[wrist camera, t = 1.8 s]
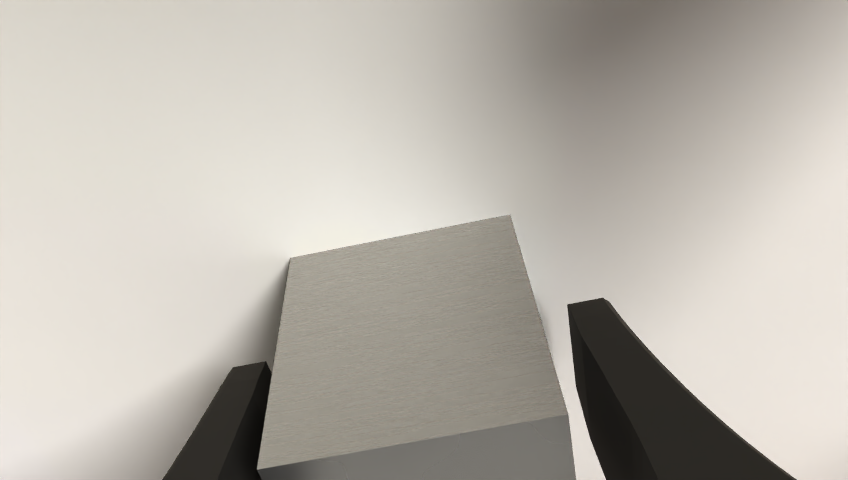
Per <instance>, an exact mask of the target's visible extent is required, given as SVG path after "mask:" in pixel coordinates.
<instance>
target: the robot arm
mask: <svg viewBox="0 0 848 480" xmlns="http://www.w3.org/2000/svg"><path fill="white" fill-rule="evenodd" d="M567 306H568V316H569V325H570V335H571V344H572V353H573V363H574V372H575V382H576V388H577V392H578V395H579V399H580V403H581V407H582V410H583V414H584V418H585V421H586V425H587V428H588V432H589V435H590V439H591V442H592V444H593V447H594V450H595V452H596V455H597V457H598V460H599V462H600V465H601V467H602V470H603V473H604V475H605V478H606V480H796V479H795V478H794V477H792V476H791V475H789V474H788V473H787V472H785V471H784V470H783V469H781V468H780V467H778V466H777V465H776V464H774V463H773V462H772V461H771V460H769V459H768V458H767V457H765V456H764V455H763V454H762V453H760V452H759V451H758V450H756V449H755V448H754V447H753V446H751V445H750V444H749V443H748V442H746V441H745V440H744V439H743V438H742V437H740V436H739V435H738V434H737V433H736V432H734V431H733V430H732V429H731V428H730V427H729V426H727V425H726V424H725V423H724V422H723V421H722V420H720V419H719V418H718V417H717V416H716V415H715V414H714V413H713V412H712V411H710V410H709V409H708V408H707V407H706V406H705V405H704V404H703V403H702V402H700V401H699V400H698V399H697V398H696V397H695V396H694V395H693V394H692V393H691V392H690V391H689V390H688V389H687V388H686V387H685V386H684V385H683V384H682V383H681V382H680V381H679V380H678V379H677V378H676V377H675V376H674V375H673V374H672V373H671V372H670V371H669V370H668V369H667V368H666V367H665V366H664V365H663V364H662V363H661V362H660V361H659V360H658V359H657V358H656V357H655V356H654V355H653V354H652V353H651V351H650V350H649V349H648V348H647V347H646V346H645V345H644V344H643V343H642V341H641V340H640V339H639V338H638V337H637V336H636V335H635V333H634V332H633V331H632V330H631V329H630V328H629V326H628V325H627V324H626V323H625V322H624V320H623V319H622V318H621V317H620V315H619V314H618V313H617V312H616V310H615V309H614V308H613V306H612V305H611V303H610V302H609V301H607V300H605V299H604V298H599V299H594V300H589V301H583V302H578V303H573V304H568V305H567ZM271 377H272V373H271V371H270V369H269V367H268V365H267V362H266V361H265V362H260V363H254V364H249V365H244V366H238V367H233V368H232V370H231V371H230V373H229V374H228V376H227V377H226V379H225V380H224V382H223V384H222V385H221V387H220V389H219V390H218V392H217V394H216V395H215V397H214V399H213V400H212V402H211V404H210V405H209V407H208V408H207V410H206V412H205V413H204V415H203V417H202V418H201V420H200V422H199V423H198V425H197V427H196V428H195V430H194V431H193V433H192V435H191V436H190V438H189V439H188V441H187V443H186V444H185V446H184V447H183V449H182V450H181V452H180V453H179V455H178V457H177V458H176V460H175V461H174V463H173V464H172V466H171V467H170V469H169V471H168V472H167V474H166V475H165V477H164V478H163V480H262V479H261V477H260V475H259V473H258V471H257V465H258V459H259V453H260V446H261V440H262V434H263V428H264V421H265V415H266V409H267V403H268V396H269V390H270V384H271Z"/></svg>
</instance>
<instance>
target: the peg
mask: <svg viewBox="0 0 848 480" xmlns="http://www.w3.org/2000/svg"><path fill="white" fill-rule="evenodd" d="M257 471H258V473H259V475H260V477H261V479H262V480H576V476H575V467H574V459H573V450H572V442H571V434H570V425H569V417H568V412H567V408H566V405H565V402H564V398H563V395H562V391H561V388H560V384H559V381H558V377H557V374H556V371H555V367H554V364H553V360H552V357H551V353H550V350H549V347H548V343H547V340H546V336H545V333H544V329H543V326H542V323H541V319H540V316H539V312H538V309H537V305H536V302H535V299H534V295H533V292H532V288H531V285H530V281H529V278H528V274H527V271H526V268H525V264H524V261H523V257H522V254H521V250H520V247H519V244H518V240H517V237H516V233H515V230H514V226H513V223H512V220H511V216H510V215H506V216H501V217H496V218H490V219H485V220H480V221H475V222H470V223H465V224H460V225H455V226H450V227H445V228H440V229H435V230H430V231H425V232H420V233H414V234H409V235H404V236H399V237H394V238H389V239H384V240H379V241H374V242H369V243H364V244H359V245H354V246H349V247H344V248H339V249H333V250H328V251H323V252H318V253H313V254H308V255H303V256H298V257H293V258H290V264H289V271H288V277H287V283H286V290H285V296H284V302H283V308H282V315H281V321H280V327H279V333H278V340H277V346H276V352H275V359H274V365H273V371H272V377H271V384H270V390H269V396H268V403H267V409H266V415H265V421H264V428H263V434H262V440H261V446H260V453H259V459H258V465H257Z"/></svg>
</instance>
